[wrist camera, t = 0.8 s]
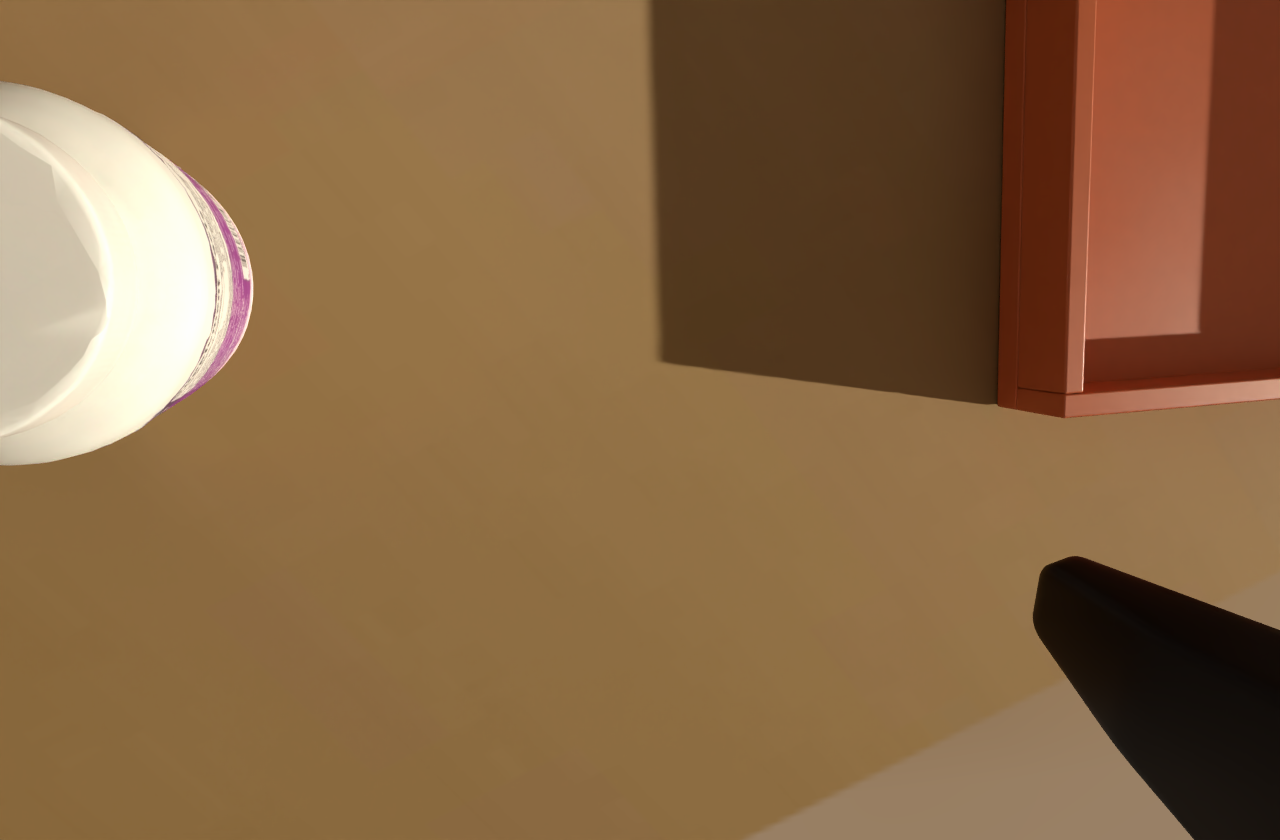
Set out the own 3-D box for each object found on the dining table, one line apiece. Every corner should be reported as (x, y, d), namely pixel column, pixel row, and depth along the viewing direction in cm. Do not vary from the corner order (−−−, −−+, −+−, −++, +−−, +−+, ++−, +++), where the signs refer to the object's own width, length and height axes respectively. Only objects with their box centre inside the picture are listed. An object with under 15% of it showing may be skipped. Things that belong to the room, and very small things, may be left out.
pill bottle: (-48, 387, 19) (-441, 479, 10) (-14, 120, 18) (-390, -51, 9) (240, 428, 20) (140, 539, 11) (277, 184, 20) (206, 92, 11)
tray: (1353, 377, 29) (1444, 385, 27) (996, 406, 26) (1063, 418, 23) (1395, -178, 27) (1499, -225, 25) (1010, -232, 23) (1086, -293, 21)
